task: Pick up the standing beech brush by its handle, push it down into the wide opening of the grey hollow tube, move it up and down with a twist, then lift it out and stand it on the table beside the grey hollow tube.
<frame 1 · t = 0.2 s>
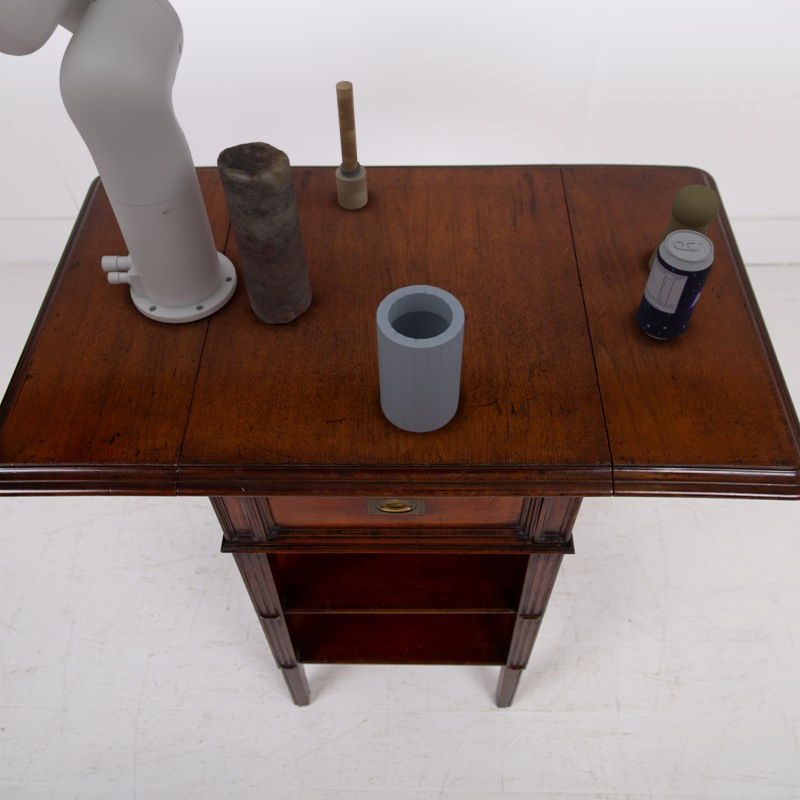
grey hollow tube: (419, 401, 81), on the table
olive pawn: (673, 268, 94), on the table
brown rough cylinder: (282, 304, 91), on the table
beverage can: (659, 327, 87), on the table
brush: (352, 200, 103), on the table
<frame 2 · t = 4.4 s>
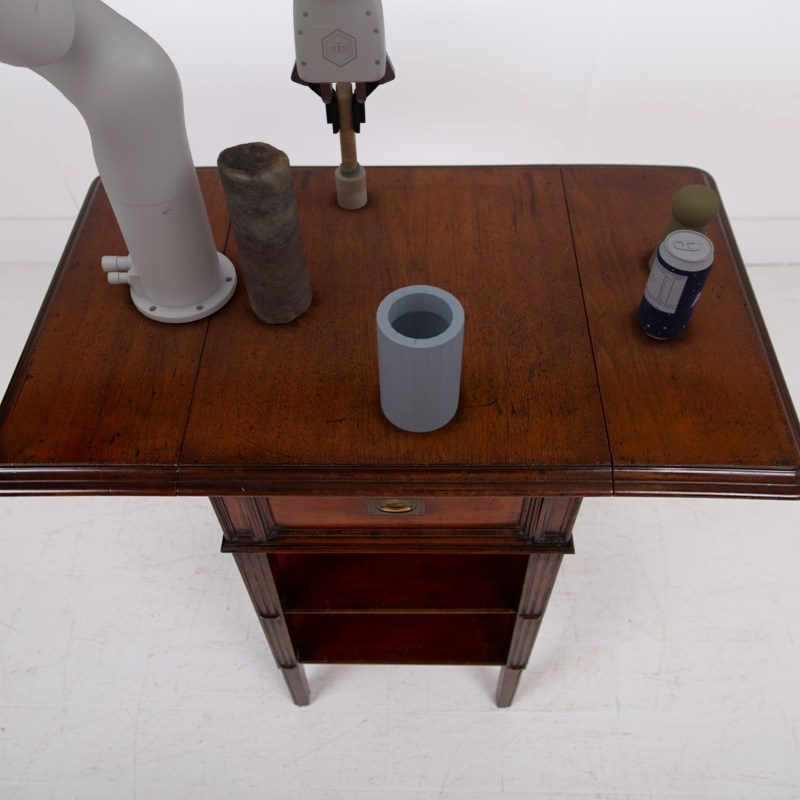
hand: (346, 126, 94), 11 cm above the table, tool pointing down, fingers closed on brush, 2 cm apart
brush: (352, 200, 103), on the table, touching gripper
everything else where it was.
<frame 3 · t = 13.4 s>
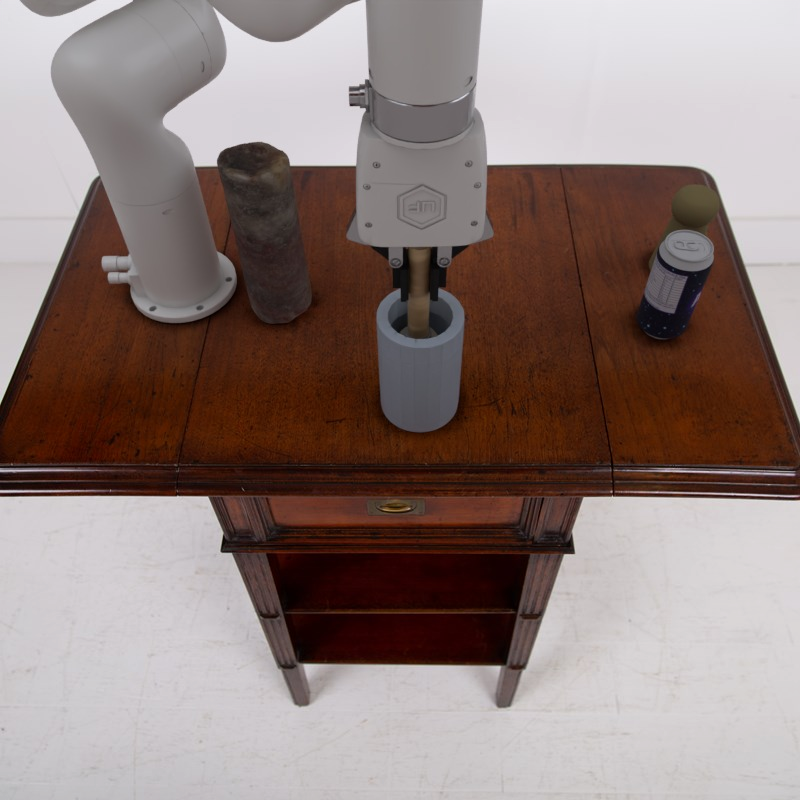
hand: (418, 289, 68), 16 cm above the table, tool pointing down, fingers closed on brush
brush: (417, 369, 77), point 5 cm above the table, touching gripper
everything else where it was.
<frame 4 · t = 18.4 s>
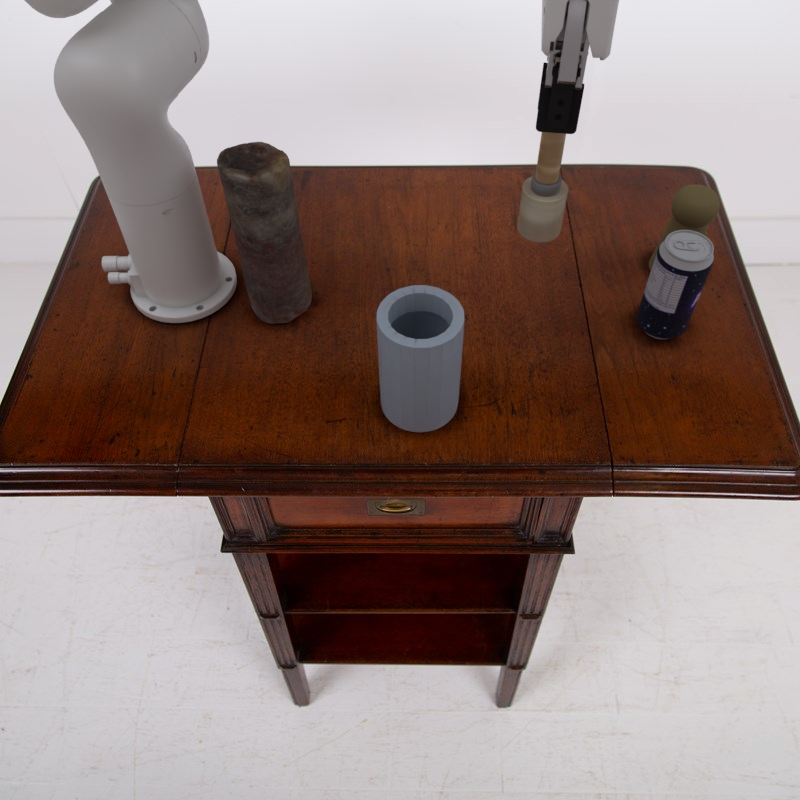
hand: (556, 119, 61), 29 cm above the table, tool pointing down, fingers closed on brush
brush: (538, 228, 70), point 18 cm above the table, touching gripper
everything else where it was.
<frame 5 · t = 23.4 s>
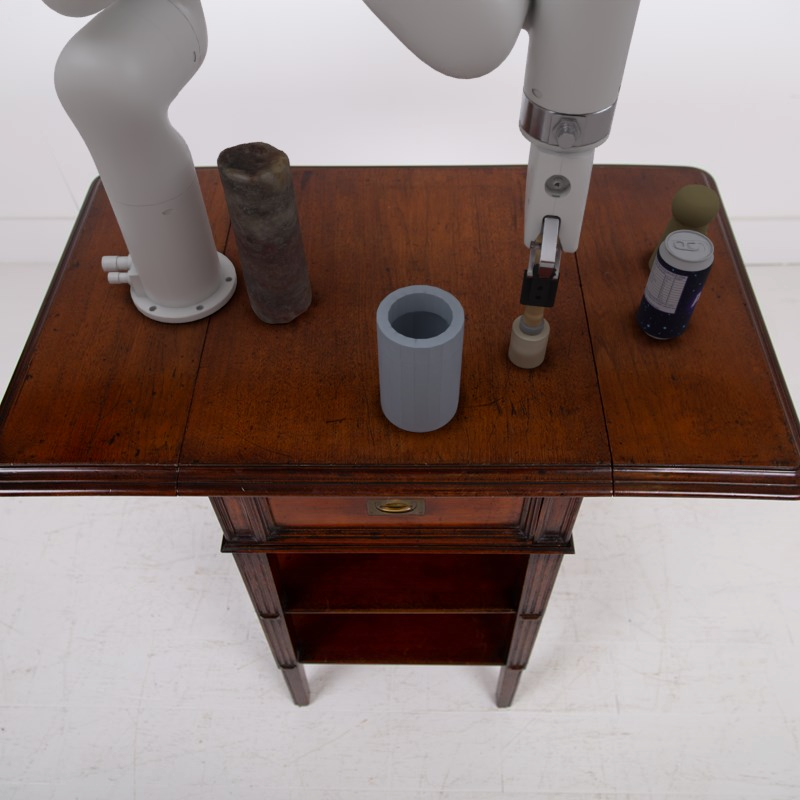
hand: (538, 269, 75), 13 cm above the table, tool pointing down, fingers open, 9 cm apart
brush: (526, 355, 85), on the table
everything else where it was.
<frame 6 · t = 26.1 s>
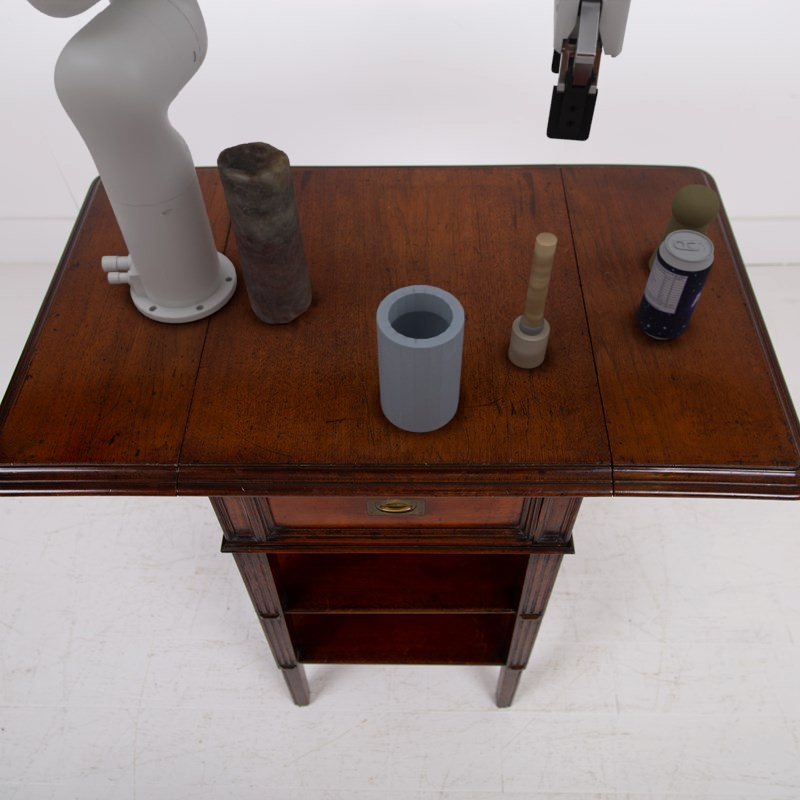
hand: (568, 103, 61), 30 cm above the table, tool pointing down, fingers open, 9 cm apart
nothing on the table moved.
at the end: brush inside the target area on the table beside the grey hollow tube (0.3 cm from its centre), on the table; brush tilted 0°; the gripper is holding nothing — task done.
